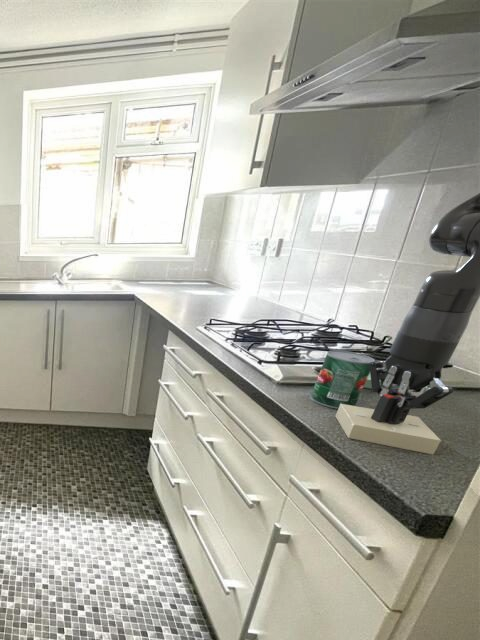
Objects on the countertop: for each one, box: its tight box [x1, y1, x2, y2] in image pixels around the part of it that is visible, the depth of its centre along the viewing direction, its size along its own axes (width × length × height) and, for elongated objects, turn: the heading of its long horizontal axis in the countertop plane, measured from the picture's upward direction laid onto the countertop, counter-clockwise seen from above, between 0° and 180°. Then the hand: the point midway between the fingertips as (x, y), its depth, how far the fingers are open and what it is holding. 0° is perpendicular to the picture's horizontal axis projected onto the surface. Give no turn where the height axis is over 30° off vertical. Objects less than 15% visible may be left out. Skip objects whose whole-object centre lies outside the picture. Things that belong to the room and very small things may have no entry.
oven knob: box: [371, 394, 408, 422], centre depth 78 cm, size 5×2×5 cm, turn 92°
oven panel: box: [335, 404, 442, 456], centre depth 80 cm, size 12×10×3 cm
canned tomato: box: [309, 350, 376, 410], centre depth 91 cm, size 8×8×11 cm
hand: (386, 419), depth 79 cm, fingers closed, pressing on oven knob
